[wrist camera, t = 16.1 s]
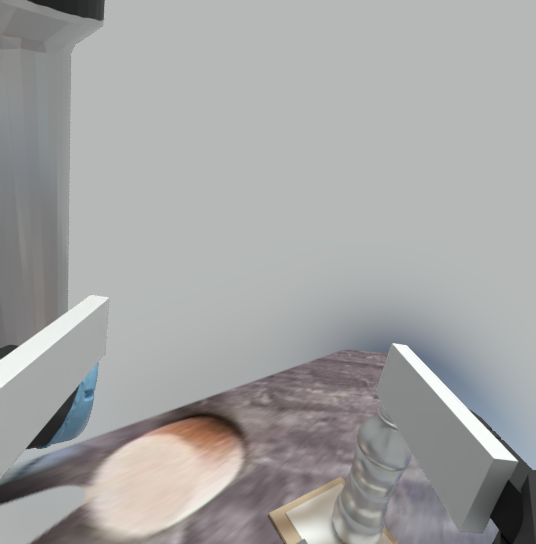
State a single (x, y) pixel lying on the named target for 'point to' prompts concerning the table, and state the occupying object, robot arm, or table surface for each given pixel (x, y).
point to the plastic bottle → (371, 480)
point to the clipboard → (314, 518)
